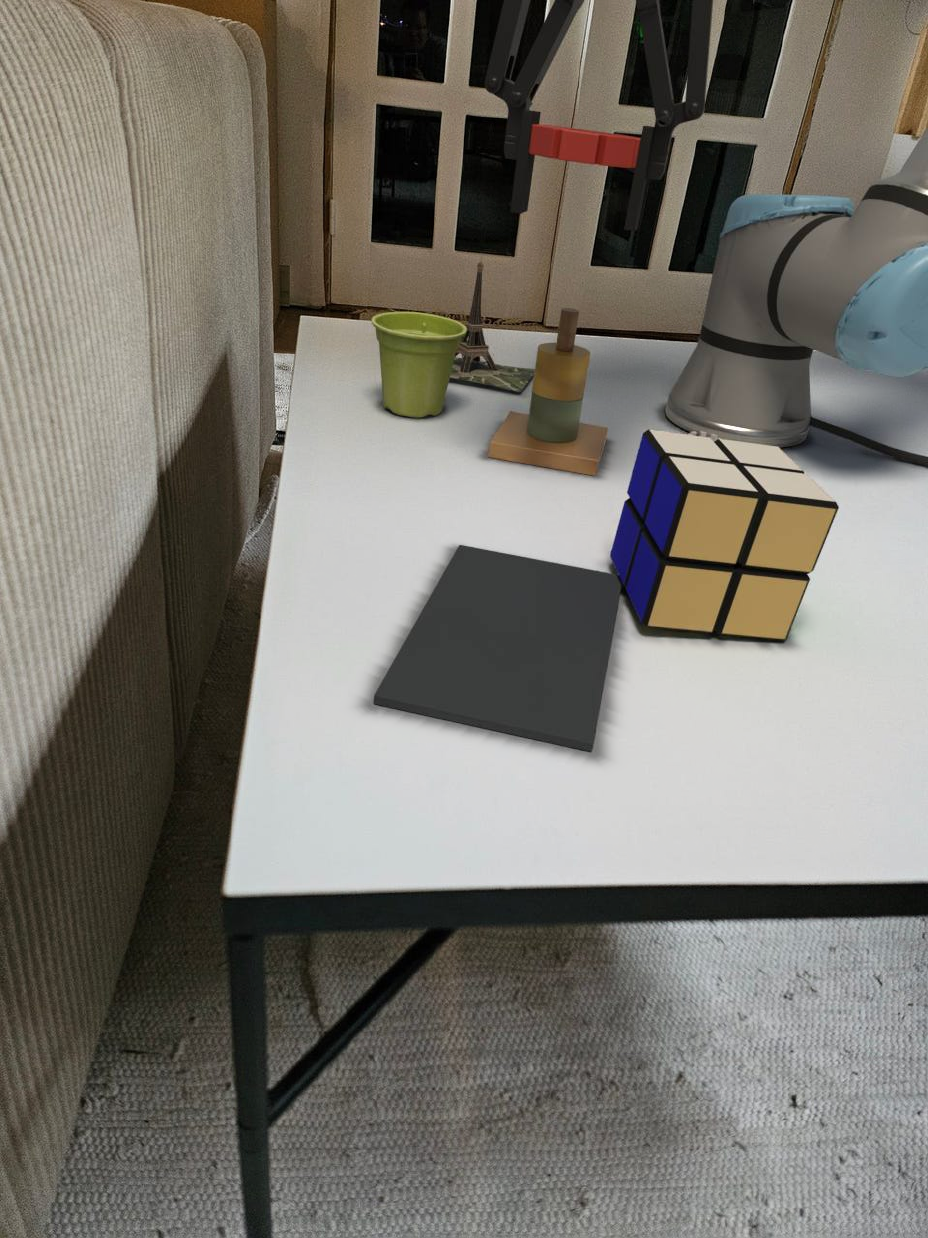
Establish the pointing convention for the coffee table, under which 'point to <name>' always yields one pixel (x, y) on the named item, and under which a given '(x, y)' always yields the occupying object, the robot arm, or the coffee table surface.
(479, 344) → the eiffel tower figurine
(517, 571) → the slate mat
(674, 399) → the robot arm
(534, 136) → the red ring
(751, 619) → the puzzle cube
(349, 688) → the coffee table surface
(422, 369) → the plant pot
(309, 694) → the coffee table surface
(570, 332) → the stack tower
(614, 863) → the coffee table surface
